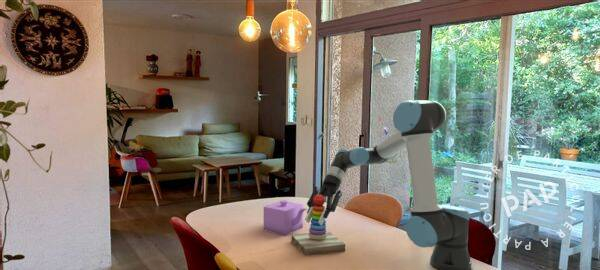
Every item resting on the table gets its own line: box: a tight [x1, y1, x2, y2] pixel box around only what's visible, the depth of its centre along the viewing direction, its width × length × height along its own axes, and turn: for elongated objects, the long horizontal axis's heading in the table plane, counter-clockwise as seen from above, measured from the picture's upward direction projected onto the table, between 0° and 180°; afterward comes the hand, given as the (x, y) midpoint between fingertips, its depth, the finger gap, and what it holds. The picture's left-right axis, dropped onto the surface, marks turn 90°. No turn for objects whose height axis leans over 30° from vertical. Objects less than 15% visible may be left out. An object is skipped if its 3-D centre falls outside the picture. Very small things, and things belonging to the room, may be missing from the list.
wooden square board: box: [291, 230, 346, 256], centre depth 186 cm, size 18×18×3 cm
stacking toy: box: [308, 193, 327, 239], centre depth 185 cm, size 8×8×19 cm
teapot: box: [263, 200, 308, 236], centre depth 208 cm, size 15×25×14 cm, turn 57°
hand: (313, 222), depth 182 cm, fingers closed on stacking toy, 6 cm apart
